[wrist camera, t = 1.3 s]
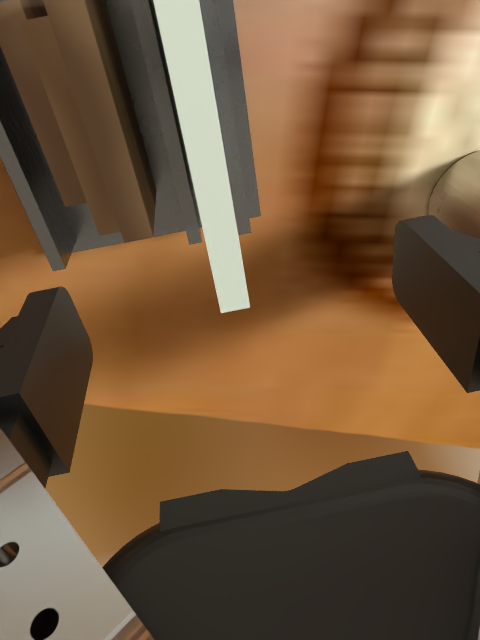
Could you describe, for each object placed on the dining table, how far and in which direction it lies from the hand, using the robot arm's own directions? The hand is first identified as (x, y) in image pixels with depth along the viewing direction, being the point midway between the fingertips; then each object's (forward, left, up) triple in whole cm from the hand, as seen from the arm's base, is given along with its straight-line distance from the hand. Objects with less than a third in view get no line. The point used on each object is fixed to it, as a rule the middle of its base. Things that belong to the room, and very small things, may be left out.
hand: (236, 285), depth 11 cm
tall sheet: (0, 0, -28) cm, 28 cm away
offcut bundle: (+7, 0, -28) cm, 29 cm away
